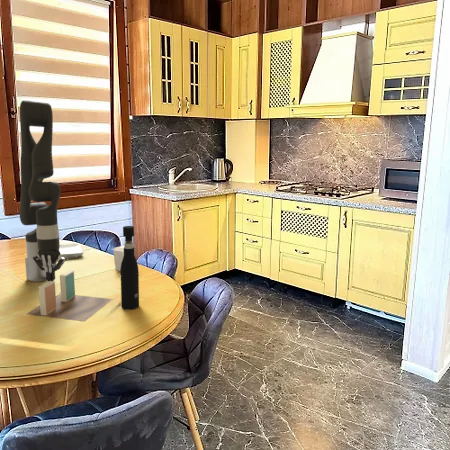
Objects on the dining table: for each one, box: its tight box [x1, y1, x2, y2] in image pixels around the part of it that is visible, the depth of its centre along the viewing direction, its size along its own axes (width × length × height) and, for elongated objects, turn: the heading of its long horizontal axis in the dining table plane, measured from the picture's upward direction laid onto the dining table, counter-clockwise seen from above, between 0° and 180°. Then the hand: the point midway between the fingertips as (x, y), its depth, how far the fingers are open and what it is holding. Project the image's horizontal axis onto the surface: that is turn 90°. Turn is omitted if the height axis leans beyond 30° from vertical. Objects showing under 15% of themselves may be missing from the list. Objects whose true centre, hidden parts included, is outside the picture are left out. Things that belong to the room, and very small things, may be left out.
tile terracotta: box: [38, 280, 57, 315], centre depth 142 cm, size 2×6×10 cm, turn 168°
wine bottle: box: [119, 225, 140, 311], centre depth 149 cm, size 6×6×30 cm
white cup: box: [113, 245, 125, 272], centre depth 194 cm, size 8×8×10 cm
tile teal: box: [59, 270, 76, 302], centre depth 154 cm, size 2×6×10 cm, turn 168°
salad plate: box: [59, 243, 84, 259], centre depth 215 cm, size 21×21×3 cm
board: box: [26, 292, 113, 322], centre depth 148 cm, size 22×20×1 cm
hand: (51, 281), depth 155 cm, fingers closed
